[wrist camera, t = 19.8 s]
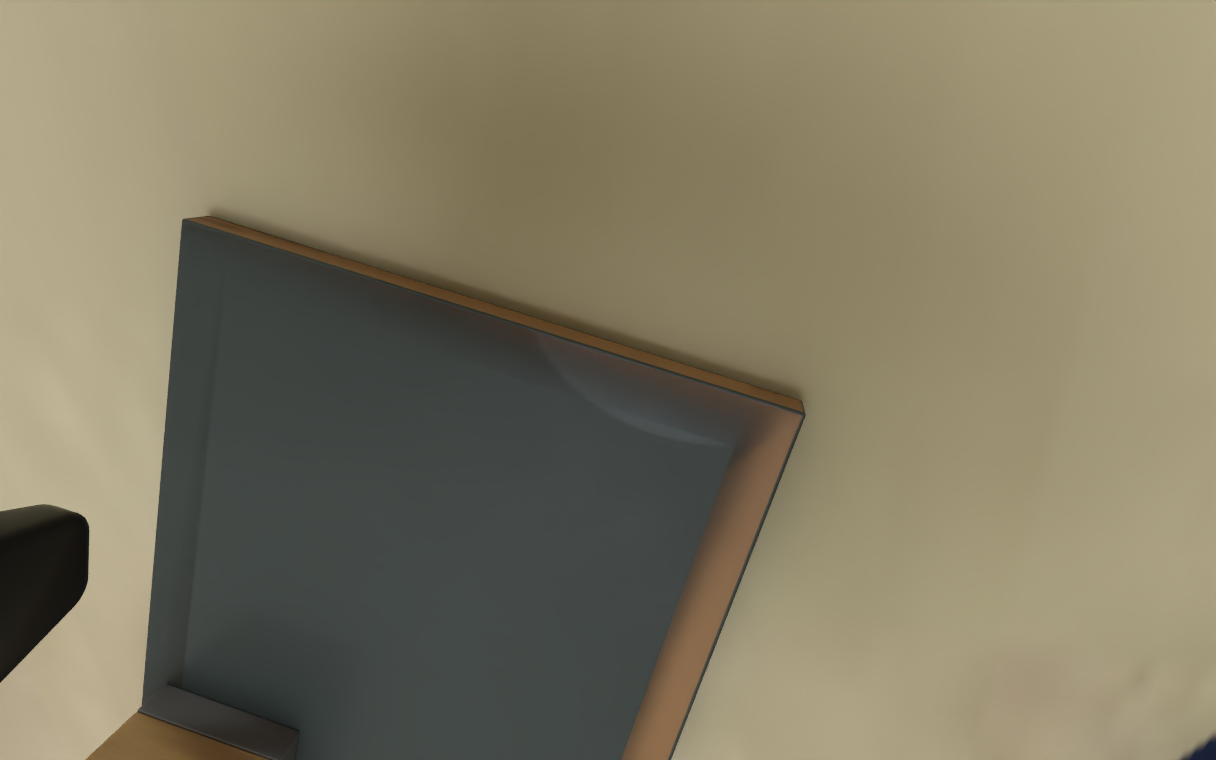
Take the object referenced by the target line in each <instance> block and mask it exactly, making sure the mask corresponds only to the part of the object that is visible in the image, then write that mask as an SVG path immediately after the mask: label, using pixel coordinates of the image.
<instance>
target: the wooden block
mask: <svg viewBox="0 0 1216 760" xmlns="http://www.w3.org/2000/svg"><path fill="white" fill-rule="evenodd" d="M298 737H299V731H297V730H295V729H292V728H289V727H286V726H283V725H281V724H278V723H275V722H272V721H269V720H267V719H264V718H261V717H258V716H255V715H253V714H250V713H247V712H244V711H241V710H239V709H236V708H233V707H230V706H227V705H225V704H222V703H219V702H216V701H213V700H211V699H208V698H205V697H202V696H199V695H197V694H194V693H191V692H188V691H185V690H183V689H180V688H177V687H174V686H171V685H169V684H165V685H164V686H163V687H162V688H161V689H160V690H159V691H158V692H157V693H155V694H154V695H153V696H152V697H151V698H150V699H149V700H148V701H147V702H146V703H145V704H144V705H143V706H142V707H140V708H139V709H138V711H137V713H135V714H134V715H133V716H132V717H131V718H129V719H128V720H127V721H126V722H125V723H124V724H123V725H122V726H121V727H120V728H119V729H118V730H117V731H116V732H115V733H113V734H112V735H111V736H110V737H109V738H108V739H107V740H106V741H105V742H104V743H103V744H102V745H101V746H100V747H98V748H97V749H96V750H95V751H94V752H93V753H92V754H91V755H90V756H89V757H88V758H87V759H86V760H295V754H296V749H297V743H298Z"/></svg>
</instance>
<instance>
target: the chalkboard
mask: <svg viewBox="0 0 1216 760" xmlns="http://www.w3.org/2000/svg"><path fill="white" fill-rule="evenodd" d="M805 415H806V414H805V410H804V407H803V403H802V401H800V400H797V399H794V398H791V397H787V396H784V395H781V394H778V393H775V392H771V391H768V390H765V389H762V388H759V387H755V386H752V385H749V384H746V383H743V382H739V381H736V380H733V379H730V378H727V377H723V376H720V375H717V374H714V373H711V372H707V371H704V370H701V369H698V368H694V367H691V366H688V365H685V364H682V363H678V362H675V361H672V360H669V359H666V358H662V357H659V356H656V355H653V354H650V353H646V352H643V351H640V350H637V349H634V348H630V347H627V346H624V345H621V344H618V343H614V342H611V341H608V340H605V339H602V338H598V337H595V336H592V335H589V334H585V333H582V332H579V331H576V330H573V329H569V328H566V327H563V326H560V325H557V324H553V323H550V322H547V321H544V320H541V319H537V318H534V317H531V316H528V315H525V314H521V313H518V312H515V311H512V310H509V309H505V308H502V307H499V306H496V305H493V304H489V303H486V302H483V301H480V300H476V299H473V298H470V297H467V296H464V295H460V294H457V293H454V292H451V291H448V290H444V289H441V288H438V287H435V286H432V285H428V284H425V283H422V282H419V281H416V280H412V279H409V278H406V277H403V276H400V275H396V274H393V273H390V272H387V271H384V270H380V269H377V268H374V267H371V266H367V265H364V264H361V263H358V262H355V261H351V260H348V259H345V258H342V257H339V256H335V255H332V254H329V253H326V252H323V251H319V250H316V249H313V248H310V247H307V246H303V245H300V244H297V243H294V242H291V241H287V240H284V239H281V238H278V237H275V236H271V235H268V234H265V233H262V232H258V231H255V230H252V229H249V228H246V227H242V226H239V225H236V224H233V223H230V222H226V221H223V220H220V219H217V218H214V217H210V216H204V217H196V218H187V219H183V220H182V230H181V242H180V254H179V266H178V278H177V290H176V302H175V314H174V326H173V338H172V350H171V362H170V374H169V386H168V398H167V410H166V422H165V434H164V446H163V458H162V470H161V482H160V494H159V506H158V518H157V530H156V542H155V554H154V566H153V578H152V590H151V602H150V614H149V626H148V638H147V650H146V662H145V674H144V686H143V698H142V706H143V705H144V704H145V703H146V702H147V701H148V700H149V699H150V698H151V697H152V696H153V695H154V694H155V693H157V692H158V691H159V690H160V689H161V688H162V687H163V686H164V685H165V684H169V685H171V686H174V687H177V688H180V689H183V690H185V691H188V692H191V693H194V694H197V695H199V696H202V697H205V698H208V699H211V700H213V701H216V702H219V703H222V704H225V705H227V706H230V707H233V708H236V709H239V710H241V711H244V712H247V713H250V714H253V715H255V716H258V717H261V718H264V719H267V720H269V721H272V722H275V723H278V724H281V725H283V726H286V727H289V728H292V729H295V730H297V731H299V737H298V743H297V749H296V754H295V760H671V758H672V755H673V753H674V750H675V748H676V745H677V743H678V740H679V737H680V735H681V732H682V730H683V727H684V725H685V722H686V720H687V717H688V714H689V712H690V709H691V707H692V704H693V702H694V699H695V697H696V694H697V691H698V689H699V686H700V684H701V681H702V679H703V676H704V674H705V671H706V668H707V666H708V663H709V661H710V658H711V656H712V653H713V651H714V648H715V645H716V643H717V640H718V638H719V635H720V633H721V630H722V628H723V625H724V622H725V620H726V617H727V615H728V612H729V610H730V607H731V605H732V602H733V599H734V597H735V594H736V592H737V589H738V587H739V584H740V582H741V579H742V576H743V574H744V571H745V569H746V566H747V564H748V561H749V559H750V556H751V553H752V551H753V548H754V546H755V543H756V541H757V538H758V536H759V533H760V530H761V528H762V525H763V523H764V520H765V518H766V515H767V513H768V510H769V507H770V505H771V502H772V500H773V497H774V495H775V492H776V490H777V487H778V484H779V482H780V479H781V477H782V474H783V472H784V469H785V467H786V464H787V461H788V459H789V456H790V454H791V451H792V449H793V446H794V444H795V441H796V438H797V436H798V433H799V431H800V428H801V426H802V423H803V421H804V418H805Z"/></svg>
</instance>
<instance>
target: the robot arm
mask: <svg viewBox="0 0 1216 760" xmlns="http://www.w3.org/2000/svg"><path fill="white" fill-rule="evenodd" d="M88 560H89V525H88V523H87V520H86V519H85V517H83V516H82V515H80V514H78V513H75V512H72V511H69V510H66V509H63V508H60V507H57V506H53V505H46V504H43V505H35V506H29V507H24V508H18V509H12V510H6V511H0V682H1V681H2V680H3V679H4V678H5V677H6V676H7V675H8V674H9V673H10V672H11V671H12V670H13V669H14V668H15V667H16V666H17V665H18V664H19V663H20V662H21V661H22V660H23V659H24V658H25V657H26V656H27V655H28V654H29V652H30V651H31V650H32V649H33V648H34V647H35V646H36V645H37V644H38V643H39V642H40V641H41V640H42V639H43V638H44V637H45V636H46V635H47V634H48V633H49V632H50V631H51V630H52V629H53V628H54V627H55V626H56V625H57V624H58V623H59V621H60V620H61V619H62V618H63V617H64V616H65V615H66V614H67V613H68V612H69V611H70V610H71V609H72V608H73V607H74V606H75V605H76V604H77V602H78V601H79V599H80V598H81V596H82V595H83V593H84V591H85V589H86V585H87V582H88Z"/></svg>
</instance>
